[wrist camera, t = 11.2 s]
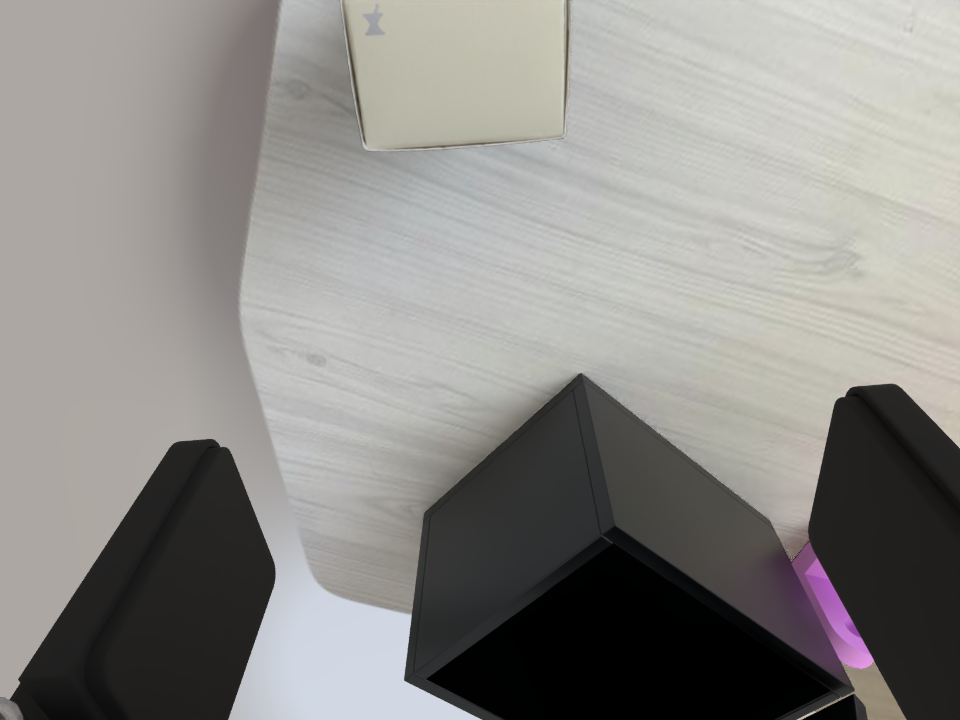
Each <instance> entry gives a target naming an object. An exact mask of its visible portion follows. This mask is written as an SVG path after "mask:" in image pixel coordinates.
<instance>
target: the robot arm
mask: <svg viewBox="0 0 960 720" xmlns="http://www.w3.org/2000/svg"><path fill="white" fill-rule="evenodd" d="M808 532H809V539H810V543H811V547H812V549H813V551H814V553H815V555H816V557H817V558H818V560H819V562H820V564H821V566H822V567H823V569H824V571H825V573H826V575H827V576H828V578H829V580H830V582H831V584H832V586H833V587H834V589H835V591H836V593H837V595H838V596H839V598H840V600H841V602H842V604H843V605H844V607H845V609H846V611H847V613H848V614H849V616H850V618H851V620H852V622H853V624H854V625H855V627H856V629H857V631H858V633H859V634H860V636H861V638H862V640H863V642H864V643H865V645H866V647H867V649H868V651H869V652H870V654H871V656H872V658H873V660H874V661H875V663H876V665H877V667H878V669H879V671H880V672H881V674H882V676H883V678H884V680H885V681H886V683H887V685H888V687H889V689H890V690H891V692H892V694H893V696H894V698H895V699H896V701H897V703H898V705H899V707H900V709H901V710H902V712H903V714H904V716H905V718H906V719H907V720H960V448H959V447H958V446H957V445H956V444H955V443H954V442H953V441H952V440H951V439H950V438H949V437H948V436H947V435H946V434H945V433H944V432H943V431H942V430H941V429H940V427H939V426H938V425H937V424H936V423H935V422H934V421H933V420H932V419H931V418H930V417H929V416H928V415H927V414H926V413H925V412H924V411H923V410H922V409H921V408H920V407H919V406H918V405H917V404H916V403H915V402H914V401H913V400H912V399H911V398H910V397H909V396H908V395H907V393H906V392H905V391H904V390H903V389H902V388H900V387H899V386H898V385H895V384H882V385H869V386H857V387H852V388H850V389H849V390H848V392H847V393H846V396H845V397H841V398H839V399H837V401H836V402H835V405H834V409H833V413H832V418H831V423H830V427H829V432H828V437H827V442H826V446H825V451H824V456H823V460H822V465H821V470H820V474H819V479H818V484H817V489H816V493H815V498H814V503H813V507H812V512H811V517H810V521H809V528H808ZM274 583H275V565H274V561H273V558H272V556H271V553H270V551H269V548H268V546H267V543H266V540H265V538H264V535H263V533H262V530H261V528H260V525H259V523H258V520H257V517H256V515H255V512H254V510H253V507H252V505H251V502H250V500H249V497H248V495H247V492H246V489H245V487H244V484H243V482H242V480H241V477H240V474H239V472H238V469H237V467H236V464H235V462H234V459H233V457H232V454H231V452H230V451H229V449H228V448H226V447H220V446H219V444H218V443H217V442H216V441H215V440H213V439H206V440H193V441H180V442H176V443H174V444H173V445H172V446H171V447H170V448H169V450H168V452H167V453H166V455H165V456H164V458H163V459H162V461H161V462H160V464H159V465H158V467H157V468H156V470H155V471H154V473H153V474H152V476H151V477H150V479H149V480H148V482H147V484H146V485H145V487H144V488H143V490H142V491H141V493H140V494H139V496H138V497H137V499H136V500H135V502H134V503H133V505H132V506H131V508H130V510H129V511H128V513H127V514H126V516H125V517H124V519H123V520H122V522H121V523H120V525H119V526H118V528H117V529H116V531H115V532H114V534H113V535H112V537H111V538H110V540H109V541H108V543H107V545H106V546H105V548H104V549H103V551H102V552H101V554H100V555H99V557H98V558H97V560H96V561H95V563H94V564H93V566H92V568H91V569H90V571H89V572H88V574H87V575H86V577H85V578H84V580H83V581H82V583H81V584H80V586H79V588H78V589H77V590H76V592H75V593H74V595H73V597H72V598H71V600H70V601H69V603H68V604H67V606H66V607H65V609H64V610H63V612H62V613H61V615H60V616H59V618H58V619H57V621H56V622H55V624H54V626H53V627H52V629H51V630H50V632H49V633H48V635H47V636H46V638H45V639H44V641H43V642H42V644H41V645H40V647H39V648H38V650H37V651H36V653H35V654H34V656H33V658H32V659H31V661H30V662H29V664H28V665H27V667H26V668H25V670H24V671H23V673H22V674H21V676H20V677H19V679H18V680H19V681H20V685H19V686H18V688H17V689H16V691H15V692H14V694H13V696H12V697H11V698H10V700H8V699H6V698H3V697H0V720H228V718H229V715H230V712H231V710H232V706H233V704H234V701H235V698H236V695H237V692H238V689H239V686H240V683H241V680H242V678H243V675H244V672H245V669H246V665H247V663H248V660H249V657H250V654H251V651H252V648H253V645H254V643H255V640H256V637H257V634H258V631H259V628H260V625H261V622H262V619H263V616H264V613H265V610H266V608H267V604H268V602H269V599H270V596H271V593H272V590H273V587H274Z"/></svg>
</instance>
